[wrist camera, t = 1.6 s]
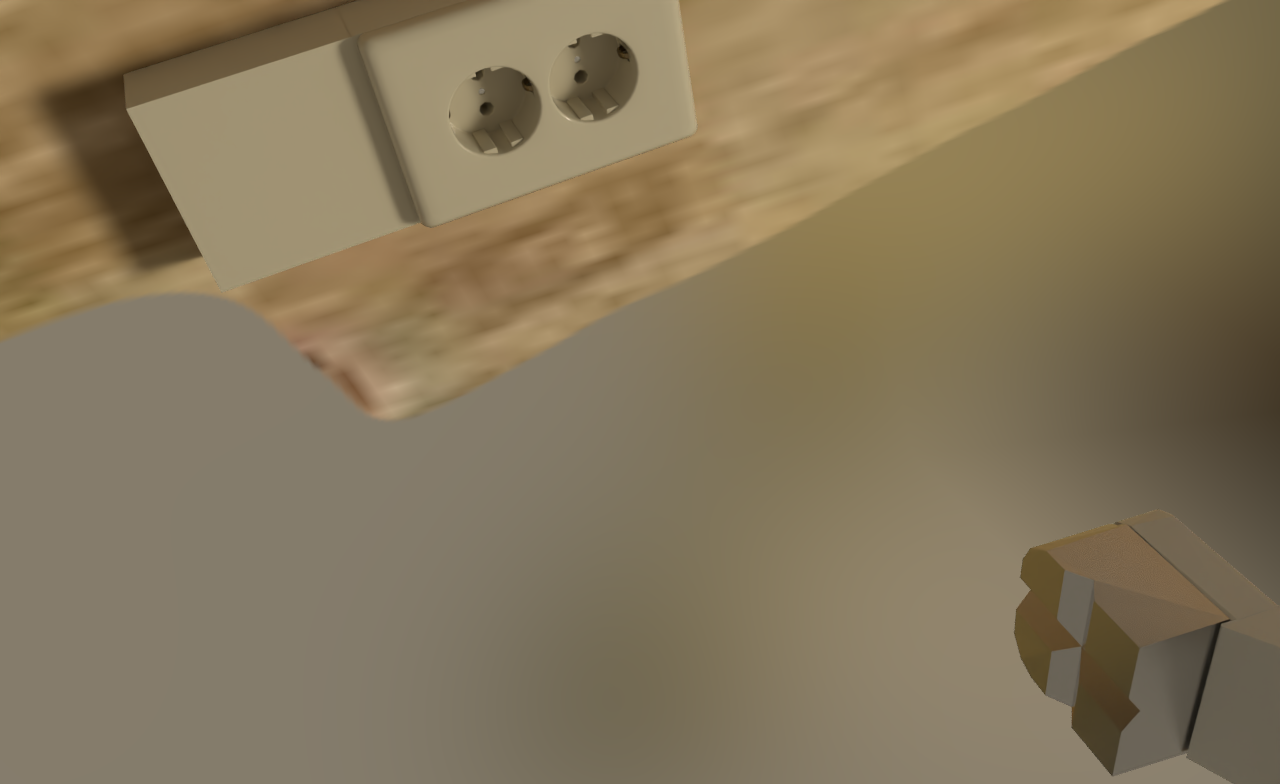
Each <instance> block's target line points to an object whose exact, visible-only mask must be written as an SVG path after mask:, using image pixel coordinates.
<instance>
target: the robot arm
mask: <svg viewBox="0 0 1280 784" xmlns="http://www.w3.org/2000/svg"><path fill="white" fill-rule="evenodd" d="M1020 578H1021V579H1022V580H1023V581H1024V582H1025V584H1026V585H1027V586H1028V587H1029V588H1030V589H1031V590H1030V591H1029V593H1028V594H1027V595H1026V597H1025V598H1024V599H1023V601H1022V602H1021V604H1020V605H1019V606H1018V608H1017V609H1016V618H1015V630H1014V634H1015V638H1016V642H1017V646H1018V649H1019V653H1020V657H1021V660H1022V661H1023V663H1024V665H1025V667H1026V669H1027V671H1028V673H1029V674H1030V676H1031V678H1032V679H1033V680H1034V682H1035V683H1036V684H1037V685H1038V687H1039V688H1040V689H1041V690H1042V692H1043V693H1044V694H1045V695H1046V696H1048V697H1050V698H1053V699H1055V700H1057V701H1059V702H1062V703H1064V704H1066V705H1069V706H1071V707H1072V729H1073V730H1074V731H1075V732H1076V733H1077V735H1078V736H1079V737H1080V738H1081V739H1082V741H1083V742H1084V743H1085V744H1086V745H1087V747H1088V748H1089V749H1090V750H1091V751H1092V753H1093V754H1094V755H1095V756H1096V757H1097V759H1098V760H1099V761H1100V762H1101V763H1102V764H1103V766H1104V767H1105V768H1106V769H1107V770H1108V772H1109V773H1110V774H1111V775H1112V776H1115V775H1119V774H1122V773H1125V772H1128V771H1131V770H1134V769H1138V768H1141V767H1144V766H1147V765H1150V764H1153V763H1157V762H1160V761H1163V760H1166V759H1169V758H1173V757H1176V756H1179V755H1182V754H1185V753H1187V756H1186V758H1188V759H1190V760H1192V761H1193V762H1195V763H1197V764H1199V765H1201V766H1202V767H1204V768H1206V769H1208V770H1210V771H1212V772H1213V773H1215V774H1217V775H1219V776H1220V777H1222V778H1224V779H1226V780H1228V781H1230V782H1231V783H1233V784H1280V605H1279V606H1278V605H1276V604H1275V603H1274V602H1273V601H1272V600H1271V599H1269V598H1268V597H1267V596H1266V595H1265V594H1264V593H1262V592H1261V591H1260V590H1259V589H1258V588H1257V587H1256V586H1254V585H1253V584H1252V583H1251V582H1250V581H1249V580H1247V579H1246V578H1245V577H1244V576H1243V575H1242V574H1241V573H1239V572H1238V571H1237V570H1236V569H1235V568H1234V567H1232V566H1231V565H1230V564H1229V563H1228V562H1227V561H1225V560H1224V559H1223V558H1222V557H1221V556H1219V555H1218V554H1217V553H1216V552H1215V551H1214V550H1212V549H1211V548H1210V547H1209V546H1208V545H1207V544H1206V543H1204V542H1203V541H1202V540H1201V539H1200V538H1199V537H1198V536H1196V535H1195V534H1194V533H1193V532H1192V531H1191V530H1189V529H1188V528H1187V527H1186V526H1185V525H1184V524H1183V523H1181V522H1180V521H1179V520H1178V519H1177V518H1176V517H1174V516H1173V515H1171V514H1170V513H1167V512H1164V511H1161V510H1159V509H1157V510H1154V511H1151V512H1148V513H1145V514H1141V515H1138V516H1134V517H1131V518H1128V519H1124V520H1121V521H1118V522H1115V523H1114V524H1107V525H1104V526H1100V527H1097V528H1094V529H1091V530H1087V531H1084V532H1081V533H1078V534H1074V535H1071V536H1068V537H1065V538H1062V539H1059V540H1055V541H1052V542H1049V543H1046V544H1042V545H1039V546H1036V547H1033V548H1030V549H1029V551H1028V552H1027V554H1026V556H1025V557H1024V558H1023V562H1022V569H1021V575H1020Z"/></svg>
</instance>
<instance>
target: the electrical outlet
mask: <svg viewBox="0 0 1280 784" xmlns="http://www.w3.org/2000/svg"><path fill="white" fill-rule="evenodd" d="M123 77H124V89H125V101H126V110H127V112H128V114H129V116H130V118H131V119H132V121H133V123H134V125H135V127H136V129H137V131H138V133H139V135H140V137H141V139H142V141H143V143H144V144H145V146H146V148H147V150H148V152H149V154H150V156H151V158H152V160H153V162H154V164H155V166H156V168H157V169H158V171H159V173H160V175H161V177H162V179H163V181H164V183H165V185H166V187H167V189H168V191H169V193H170V194H171V196H172V198H173V200H174V202H175V204H176V206H177V208H178V210H179V212H180V214H181V216H182V218H183V219H184V221H185V223H186V225H187V227H188V229H189V231H190V233H191V235H192V237H193V239H194V241H195V243H196V244H197V246H198V248H199V250H200V252H201V254H202V256H203V258H204V260H205V262H206V264H207V266H208V268H209V269H210V271H211V273H212V275H213V277H214V279H215V281H216V283H217V285H218V287H219V289H220V291H221V293H222V292H225V291H228V290H231V289H234V288H236V287H239V286H242V285H245V284H248V283H251V282H253V281H256V280H259V279H262V278H265V277H268V276H270V275H273V274H276V273H279V272H282V271H285V270H287V269H290V268H293V267H296V266H299V265H302V264H304V263H307V262H310V261H313V260H316V259H319V258H321V257H324V256H327V255H330V254H333V253H336V252H339V251H341V250H344V249H347V248H350V247H353V246H356V245H358V244H361V243H364V242H367V241H370V240H373V239H375V238H378V237H381V236H384V235H387V234H390V233H392V232H395V231H398V230H401V229H404V228H407V227H409V226H412V225H415V224H417V223H421V224H423V225H424V226H426V227H430V228H432V227H437V226H439V225H442V224H445V223H448V222H451V221H453V220H456V219H459V218H462V217H465V216H468V215H470V214H473V213H476V212H479V211H482V210H485V209H487V208H490V207H493V206H496V205H499V204H502V203H504V202H507V201H510V200H513V199H516V198H518V197H521V196H524V195H527V194H530V193H533V192H535V191H538V190H541V189H544V188H547V187H550V186H552V185H555V184H558V183H561V182H564V181H566V180H569V179H572V178H575V177H578V176H581V175H583V174H586V173H589V172H592V171H595V170H598V169H600V168H603V167H606V166H609V165H612V164H615V163H617V162H620V161H623V160H626V159H629V158H631V157H634V156H637V155H640V154H643V153H646V152H648V151H651V150H654V149H657V148H660V147H663V146H665V145H668V144H671V143H674V142H677V141H679V140H682V139H685V138H688V137H690V136H692V135H694V133H695V132H696V130H697V119H696V113H695V106H694V99H693V93H692V86H691V79H690V73H689V66H688V59H687V53H686V46H685V39H684V32H683V26H682V19H681V12H680V6H679V0H357V1H354V2H350V3H347V4H344V5H341V6H338V7H337V8H336V7H335V8H331V9H328V10H325V11H322V12H319V13H316V14H312V15H309V16H306V17H303V18H300V19H297V20H294V21H290V22H287V23H284V24H281V25H278V26H275V27H271V28H268V29H265V30H262V31H259V32H256V33H252V34H249V35H246V36H243V37H240V38H237V39H233V40H230V41H227V42H224V43H221V44H218V45H215V46H211V47H208V48H205V49H202V50H199V51H196V52H192V53H189V54H186V55H183V56H180V57H177V58H173V59H170V60H167V61H164V62H161V63H158V64H154V65H151V66H148V67H145V68H142V69H139V70H135V71H132V72H129V73H126V74H123Z"/></svg>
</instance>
